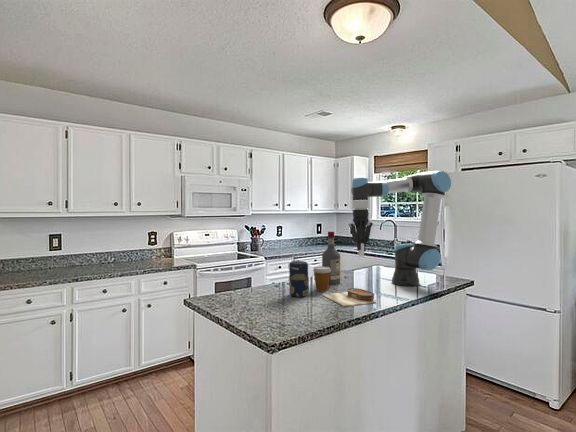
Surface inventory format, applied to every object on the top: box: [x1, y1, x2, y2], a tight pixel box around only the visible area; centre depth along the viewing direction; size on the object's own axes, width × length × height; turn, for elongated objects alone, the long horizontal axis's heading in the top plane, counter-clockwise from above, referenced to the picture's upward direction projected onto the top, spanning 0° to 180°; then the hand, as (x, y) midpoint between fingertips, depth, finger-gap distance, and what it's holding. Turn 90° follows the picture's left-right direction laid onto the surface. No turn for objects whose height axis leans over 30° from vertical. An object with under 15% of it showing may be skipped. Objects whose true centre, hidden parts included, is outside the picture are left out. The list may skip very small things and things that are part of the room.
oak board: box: [322, 291, 377, 308], centre depth 169 cm, size 17×21×1 cm
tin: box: [347, 287, 375, 301], centre depth 171 cm, size 15×3×8 cm
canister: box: [288, 259, 309, 298], centre depth 176 cm, size 10×10×18 cm
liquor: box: [321, 231, 341, 285], centre depth 205 cm, size 9×9×30 cm
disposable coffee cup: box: [312, 265, 331, 292], centre depth 188 cm, size 10×10×12 cm
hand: (361, 256), depth 174 cm, fingers closed
